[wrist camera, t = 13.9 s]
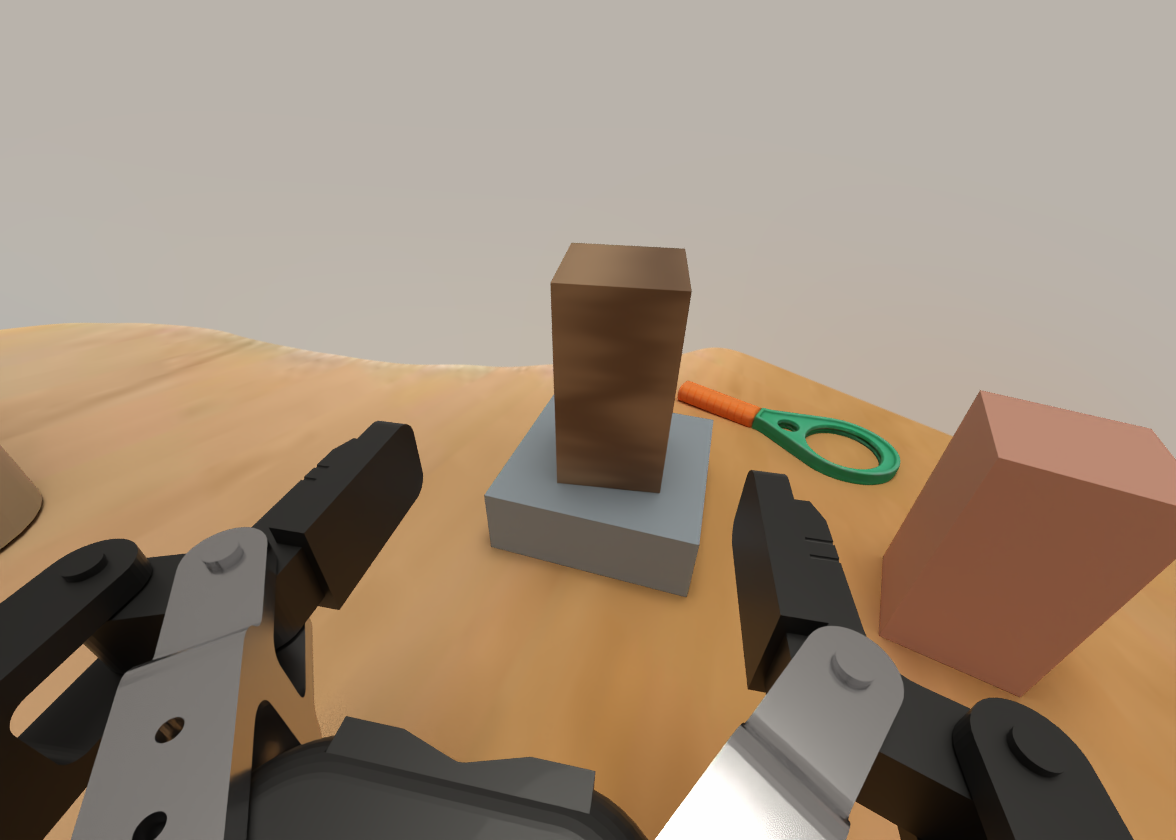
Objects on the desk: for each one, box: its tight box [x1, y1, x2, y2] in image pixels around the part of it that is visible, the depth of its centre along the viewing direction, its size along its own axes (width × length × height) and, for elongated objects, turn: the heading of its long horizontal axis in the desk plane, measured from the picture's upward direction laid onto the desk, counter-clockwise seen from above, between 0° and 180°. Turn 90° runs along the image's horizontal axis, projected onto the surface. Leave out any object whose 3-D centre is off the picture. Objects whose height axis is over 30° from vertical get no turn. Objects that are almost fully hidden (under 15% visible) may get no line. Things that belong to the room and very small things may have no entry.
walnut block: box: [551, 243, 691, 493], centre depth 21 cm, size 5×5×10 cm
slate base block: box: [484, 395, 713, 597], centre depth 26 cm, size 10×10×4 cm
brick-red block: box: [879, 390, 1176, 697], centre depth 18 cm, size 5×5×10 cm
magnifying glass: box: [678, 381, 900, 485], centre depth 33 cm, size 15×6×2 cm, turn 54°
